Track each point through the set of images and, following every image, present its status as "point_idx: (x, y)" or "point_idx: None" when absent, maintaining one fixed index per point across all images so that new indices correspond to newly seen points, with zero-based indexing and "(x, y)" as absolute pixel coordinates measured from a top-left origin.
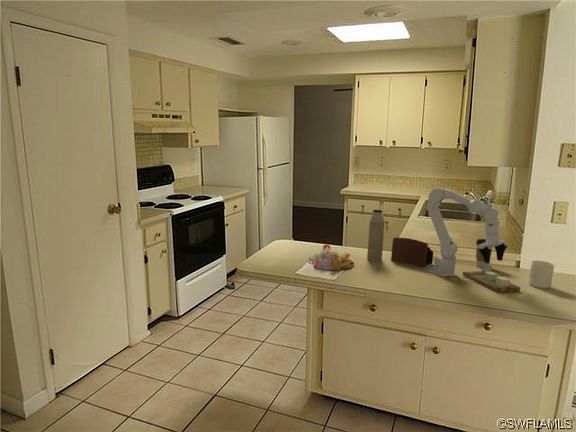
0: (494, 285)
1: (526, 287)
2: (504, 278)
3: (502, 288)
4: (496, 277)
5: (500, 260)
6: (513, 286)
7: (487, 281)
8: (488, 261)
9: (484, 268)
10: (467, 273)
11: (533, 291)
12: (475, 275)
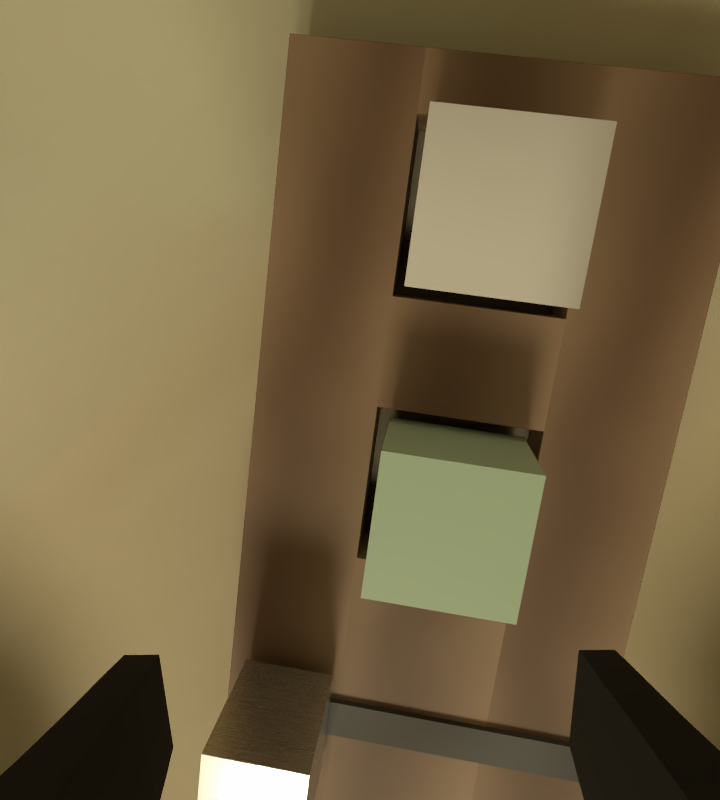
0: (663, 225)
1: (52, 193)
2: (479, 200)
3: (650, 70)
4: (580, 301)
5: (159, 673)
6: (373, 101)
7: (597, 419)
8: (646, 686)
9: (315, 773)
10: (572, 792)
11: (87, 21)
12: (528, 691)
